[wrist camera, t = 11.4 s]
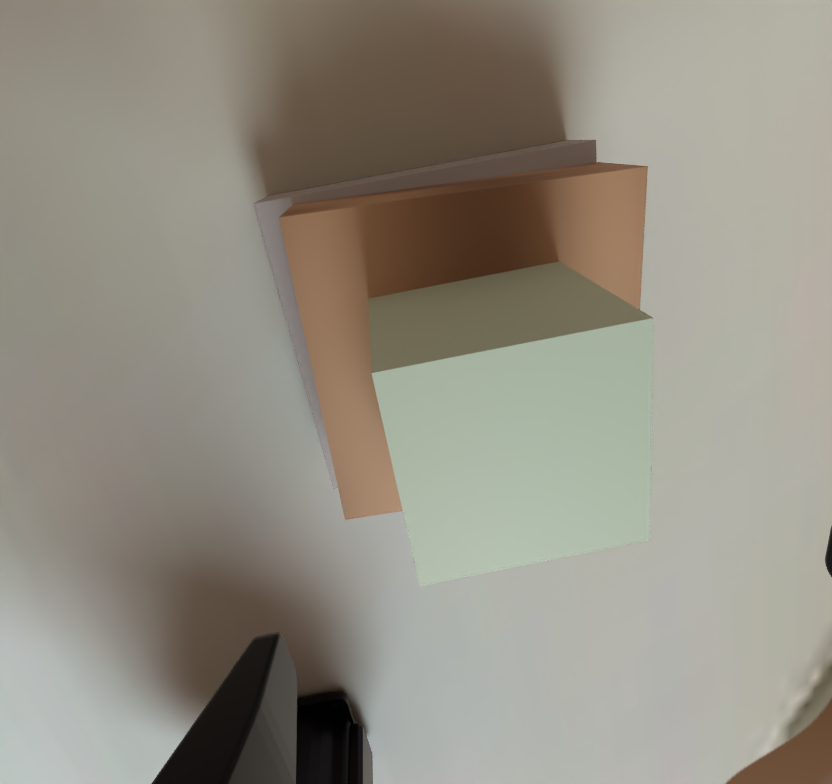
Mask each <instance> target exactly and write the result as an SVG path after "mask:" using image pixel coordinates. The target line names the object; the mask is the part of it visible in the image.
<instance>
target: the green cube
mask: <svg viewBox="0 0 832 784" xmlns="http://www.w3.org/2000/svg"><path fill="white" fill-rule="evenodd" d="M368 305H369V328H370V351H371V373H372V378H373V382H374V387H375V391H376V396H377V400H378V404H379V409H380V413H381V418H382V422H383V426H384V431H385V435H386V440H387V444H388V448H389V453H390V457H391V462H392V466H393V470H394V475H395V479H396V484H397V488H398V492H399V497H400V501H401V506H402V510H403V515H404V519H405V523H406V528H407V532H408V537H409V541H410V545H411V550H412V554H413V559H414V563H415V567H416V572H417V576H418V581H419V585H420V586H424V585H429V584H434V583H439V582H444V581H449V580H454V579H459V578H464V577H469V576H474V575H479V574H484V573H489V572H494V571H499V570H504V569H509V568H514V567H519V566H524V565H529V564H534V563H539V562H544V561H549V560H554V559H559V558H564V557H569V556H574V555H579V554H584V553H589V552H594V551H599V550H604V549H609V548H614V547H619V546H624V545H629V544H634V543H639V542H644V541H649V540H650V505H651V437H652V368H653V318H652V317H651V316H649V315H647V314H646V313H644V312H642V311H641V310H639V309H637V308H636V307H634V306H632V305H631V304H629V303H627V302H626V301H624V300H622V299H621V298H619V297H617V296H616V295H614V294H612V293H611V292H609V291H607V290H606V289H604V288H602V287H601V286H599V285H597V284H596V283H594V282H592V281H591V280H589V279H587V278H586V277H584V276H582V275H581V274H579V273H577V272H576V271H574V270H572V269H571V268H569V267H567V266H566V265H564V264H562V263H561V262H554V263H549V264H543V265H538V266H533V267H528V268H523V269H518V270H513V271H507V272H502V273H497V274H492V275H487V276H482V277H477V278H471V279H466V280H461V281H456V282H451V283H446V284H441V285H435V286H430V287H425V288H420V289H415V290H410V291H405V292H399V293H394V294H389V295H384V296H379V297H374V298H369V299H368Z"/></svg>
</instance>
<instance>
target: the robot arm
mask: <svg viewBox="0 0 832 784" xmlns="http://www.w3.org/2000/svg"><path fill="white" fill-rule="evenodd" d="M825 563H826V567H827V570H828V572H829V574H830V575H831V577H832V527H831V530H830V536H829V541H828V546H827V551H826V556H825ZM152 784H373V770H372V751H371V748H370V745H369V742H368V739H367V736H366V733H365V730H364V727H363V725H361V724H360V723H359V722H358V723H356V720H355V717H354V714H353V711H352V708H351V705H350V702H349V699H348V696H347V695H346V694H345V693H343V692H332V693H327V694H322V695H317V696H312V697H306V698H301V699H297V673H296V668H295V665H294V662H293V660H292V657H291V654H290V652H289V649H288V647H287V644H286V641H285V639H284V637H283V635H282V634H281V633H277V632H276V633H271V634H266V635H261V636H257V637H255V638H254V639H253V640H252V641H251V643H250V644H249V646H248V647H247V648H246V650H245V651H244V653H243V654H242V656H241V657H240V658H239V660H238V661H237V663H236V664H235V666H234V667H233V668H232V670H231V671H230V673H229V674H228V676H227V677H226V678H225V680H224V681H223V683H222V684H221V685H220V687H219V688H218V690H217V691H216V693H215V694H214V695H213V697H212V698H211V700H210V701H209V703H208V704H207V705H206V707H205V708H204V710H203V711H202V713H201V714H200V715H199V717H198V718H197V720H196V721H195V722H194V724H193V725H192V727H191V728H190V730H189V731H188V732H187V734H186V735H185V737H184V738H183V740H182V741H181V742H180V744H179V745H178V747H177V748H176V750H175V751H174V752H173V754H172V755H171V757H170V758H169V759H168V761H167V762H166V764H165V765H164V767H163V768H162V769H161V771H160V772H159V774H158V775H157V777H156V778H155V779H154V781H153V782H152Z"/></svg>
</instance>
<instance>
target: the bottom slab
mask: <svg viewBox="0 0 832 784" xmlns="http://www.w3.org/2000/svg"><path fill="white" fill-rule="evenodd" d="M591 163H596V140H566V141H560V142H555V143H550V144H544V145H539V146H533V147H528V148H523V149H517V150H512V151H507V152H501V153H496V154H490V155H485V156H480V157H474V158H469V159H464V160H458V161H453V162H447V163H442V164H437V165H431V166H426V167H421V168H415V169H410V170H404V171H399V172H394V173H388V174H383V175H378V176H372V177H367V178H361V179H356V180H351V181H345V182H340V183H335V184H329V185H324V186H318V187H313V188H308V189H302V190H297V191H292V192H286V193H281V194H275V195H270V196H266V197H265V198H263V199H261V200H259V201H258V202H256V203H254V207H255V211H256V214H257V218H258V222H259V225H260V229H261V232H262V236H263V239H264V243H265V246H266V250H267V254H268V257H269V261H270V264H271V268H272V271H273V275H274V278H275V282H276V286H277V289H278V293H279V296H280V300H281V303H282V307H283V310H284V314H285V318H286V321H287V325H288V328H289V332H290V335H291V339H292V342H293V346H294V350H295V353H296V357H297V360H298V364H299V367H300V371H301V374H302V378H303V382H304V385H305V389H306V392H307V396H308V399H309V403H310V406H311V410H312V414H313V417H314V421H315V424H316V428H317V431H318V435H319V438H320V442H321V446H322V449H323V453H324V456H325V460H326V463H327V467H328V470H329V474H330V478H331V481H332V485H333V488H334V489H335V488H338V485H337V480H336V476H335V471H334V467H333V462H332V457H331V453H330V448H329V444H328V439H327V435H326V430H325V426H324V421H323V417H322V412H321V407H320V403H319V398H318V394H317V389H316V385H315V380H314V376H313V371H312V367H311V362H310V358H309V353H308V348H307V344H306V339H305V335H304V330H303V326H302V321H301V317H300V312H299V308H298V303H297V299H296V294H295V289H294V285H293V280H292V276H291V271H290V267H289V262H288V258H287V253H286V249H285V244H284V240H283V235H282V230H281V226H280V221H279V217H280V216H281V215H282V214H283V213H284V212H285V211H286V210H287V209H289V208H290V207H291V206H292V205H293V204H300V203H308V202H315V201H322V200H329V199H337V198H344V197H351V196H358V195H366V194H373V193H380V192H387V191H395V190H402V189H409V188H416V187H424V186H431V185H438V184H446V183H453V182H460V181H467V180H475V179H482V178H489V177H496V176H504V175H511V174H518V173H525V172H533V171H540V170H547V169H555V168H562V167H569V166H576V165H584V164H591Z"/></svg>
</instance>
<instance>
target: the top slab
mask: <svg viewBox="0 0 832 784" xmlns="http://www.w3.org/2000/svg"><path fill="white" fill-rule="evenodd" d="M647 169H648V166H637V165H625V164H613V163H601V162H598V163H591V164H584V165H576V166H569V167H562V168H555V169H547V170H540V171H533V172H525V173H518V174H511V175H504V176H496V177H489V178H482V179H475V180H467V181H460V182H453V183H446V184H438V185H431V186H424V187H416V188H409V189H402V190H395V191H387V192H380V193H373V194H366V195H358V196H351V197H344V198H337V199H329V200H322V201H315V202H308V203H300V204H293V205H292V206H291V207H290V208H289V209H287V210H286V211H285V212H284V213H283V214H282V215H281V216H280V217H279V221H280V226H281V230H282V235H283V240H284V244H285V249H286V253H287V258H288V262H289V267H290V271H291V276H292V280H293V285H294V289H295V294H296V299H297V303H298V308H299V312H300V317H301V321H302V326H303V330H304V335H305V339H306V344H307V348H308V353H309V358H310V362H311V367H312V371H313V376H314V380H315V385H316V389H317V394H318V398H319V403H320V407H321V412H322V417H323V421H324V426H325V430H326V435H327V439H328V444H329V448H330V453H331V457H332V462H333V467H334V471H335V476H336V480H337V485H338V489H339V494H340V498H341V503H342V507H343V512H344V516H345V520H346V519H353V518H359V517H366V516H372V515H378V514H385V513H391V512H398V511H403V510H402V506H401V501H400V497H399V492H398V488H397V484H396V479H395V475H394V470H393V466H392V462H391V457H390V453H389V448H388V444H387V440H386V435H385V431H384V426H383V422H382V418H381V413H380V409H379V404H378V400H377V396H376V391H375V387H374V382H373V378H372V373H371V351H370V328H369V305H368V299H369V298H374V297H379V296H384V295H389V294H394V293H399V292H405V291H410V290H415V289H420V288H425V287H430V286H435V285H441V284H446V283H451V282H456V281H461V280H466V279H471V278H477V277H482V276H487V275H492V274H497V273H502V272H507V271H513V270H518V269H523V268H528V267H533V266H538V265H543V264H549V263H554V262H561V263H562V264H564V265H566V266H567V267H569V268H571V269H572V270H574V271H576V272H577V273H579V274H581V275H582V276H584V277H586V278H587V279H589V280H591V281H592V282H594V283H596V284H597V285H599V286H601V287H602V288H604V289H606V290H607V291H609V292H611V293H612V294H614V295H616V296H617V297H619V298H621V299H622V300H624V301H626V302H627V303H629V304H631V305H632V306H634V307H636V308H637V309H639V310H640V297H641V279H642V260H643V242H644V224H645V206H646V187H647Z"/></svg>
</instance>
